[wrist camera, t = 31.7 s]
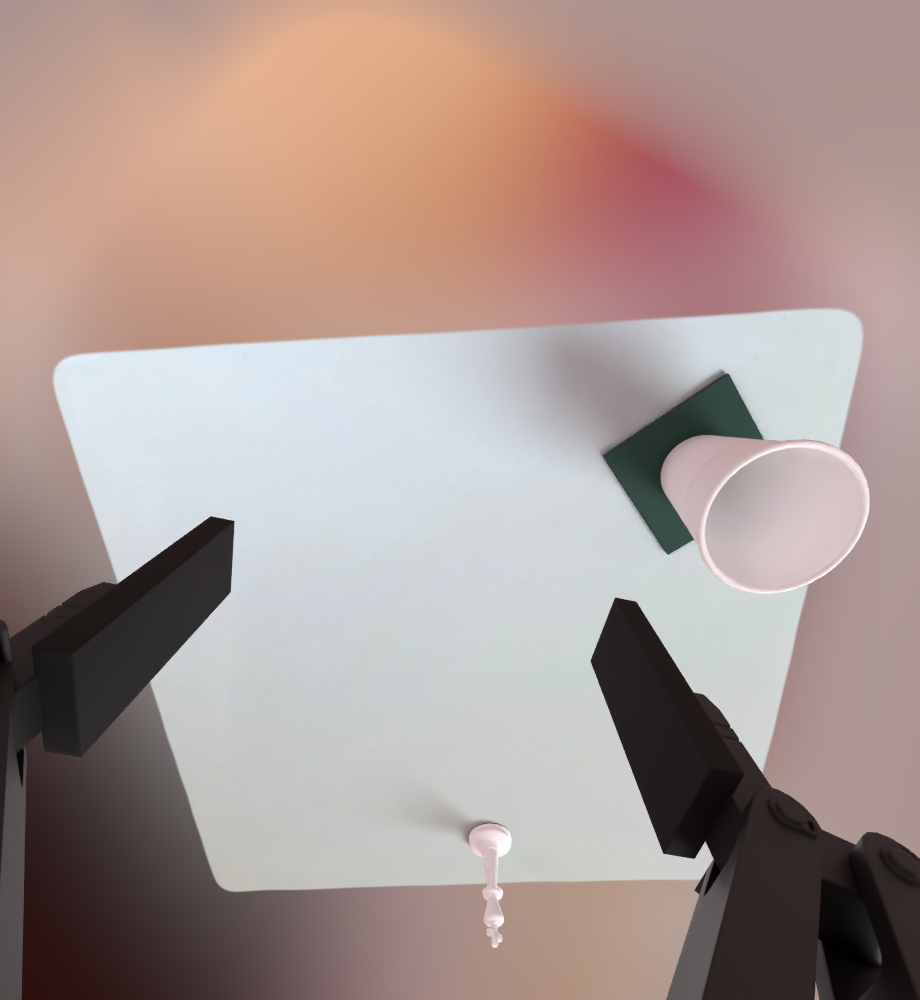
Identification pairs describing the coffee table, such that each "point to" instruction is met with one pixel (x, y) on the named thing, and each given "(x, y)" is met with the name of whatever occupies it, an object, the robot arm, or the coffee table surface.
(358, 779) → the coffee table surface
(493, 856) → the chess piece
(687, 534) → the mat
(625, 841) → the coffee table surface
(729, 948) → the robot arm
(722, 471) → the cup
